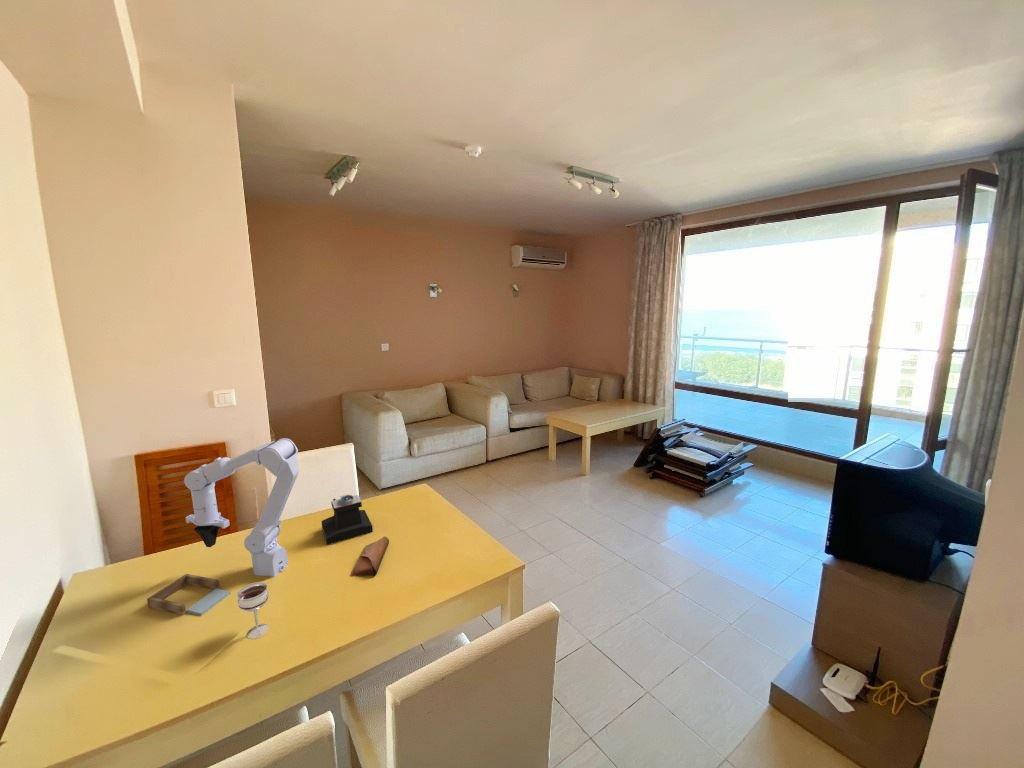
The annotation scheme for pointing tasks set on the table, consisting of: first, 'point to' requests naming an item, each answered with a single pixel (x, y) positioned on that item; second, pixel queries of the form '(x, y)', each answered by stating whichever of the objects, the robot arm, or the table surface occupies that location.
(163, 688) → the table surface
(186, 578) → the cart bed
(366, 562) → the sunglasses case
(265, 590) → the wineglass
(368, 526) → the camera
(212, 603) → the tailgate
